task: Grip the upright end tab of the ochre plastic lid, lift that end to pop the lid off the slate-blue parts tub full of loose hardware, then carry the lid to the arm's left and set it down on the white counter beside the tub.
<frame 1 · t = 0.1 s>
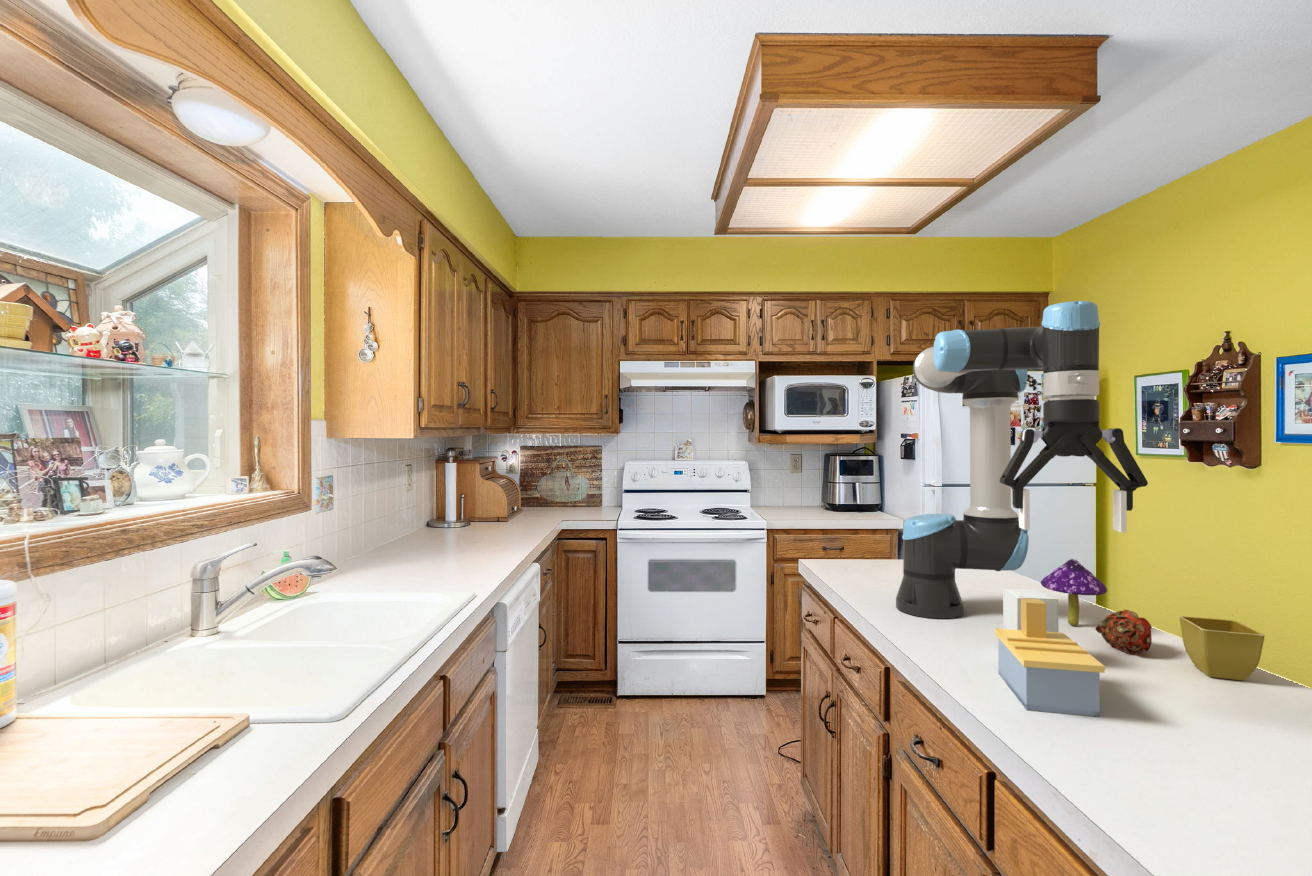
hand: (1071, 530, 99), 28 cm above the counter, fingers open, 13 cm apart
decorative mushroom: (1073, 626, 137), on the counter
lid: (1044, 651, 102), point 7 cm above the counter, touching tub
flower pot: (1220, 675, 109), on the counter
tub: (1044, 693, 102), on the counter
supplement box: (1030, 659, 118), on the counter
dragon fruit: (1124, 649, 122), on the counter
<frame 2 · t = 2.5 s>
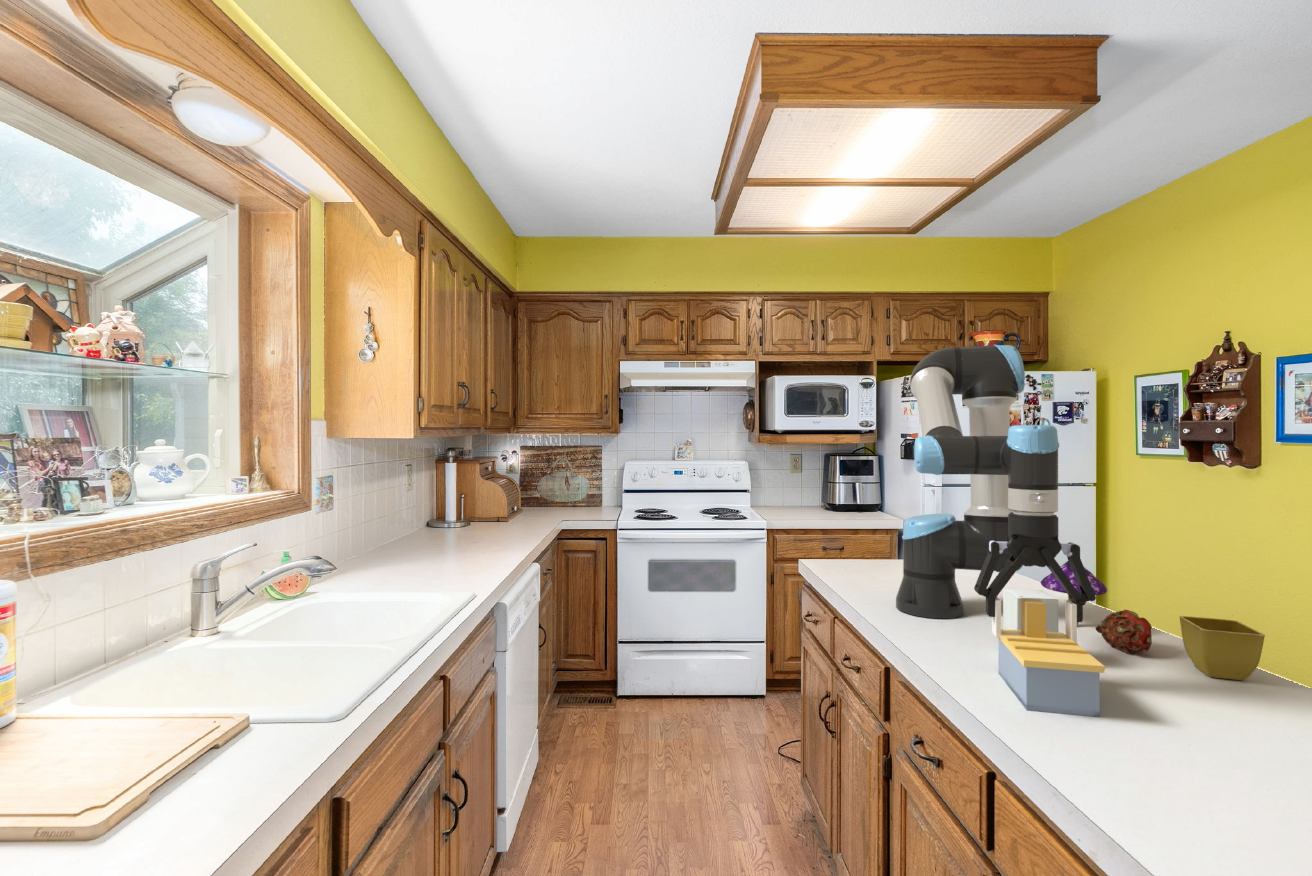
hand: (1033, 637, 107), 8 cm above the counter, fingers closed on lid, 11 cm apart
lid: (1044, 651, 102), point 7 cm above the counter, touching gripper, tub
everything else where it was.
when the fingers open (3 cm above the counter, at t = 10.2 s): lid drops 2 cm, on the counter.
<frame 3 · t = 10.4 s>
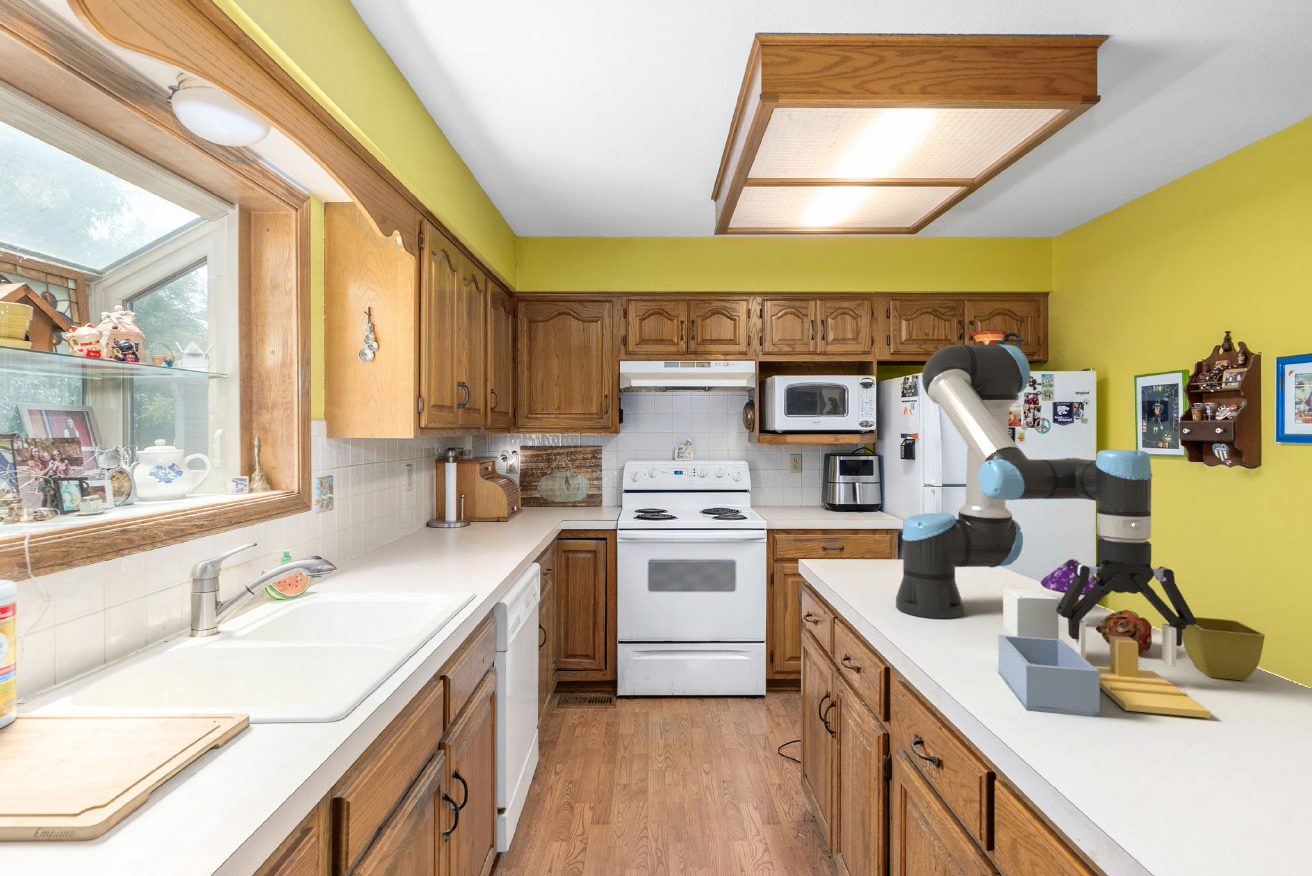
hand: (1123, 660, 106), 4 cm above the counter, fingers open, 13 cm apart
lid: (1140, 692, 101), on the counter
everything else where it was.
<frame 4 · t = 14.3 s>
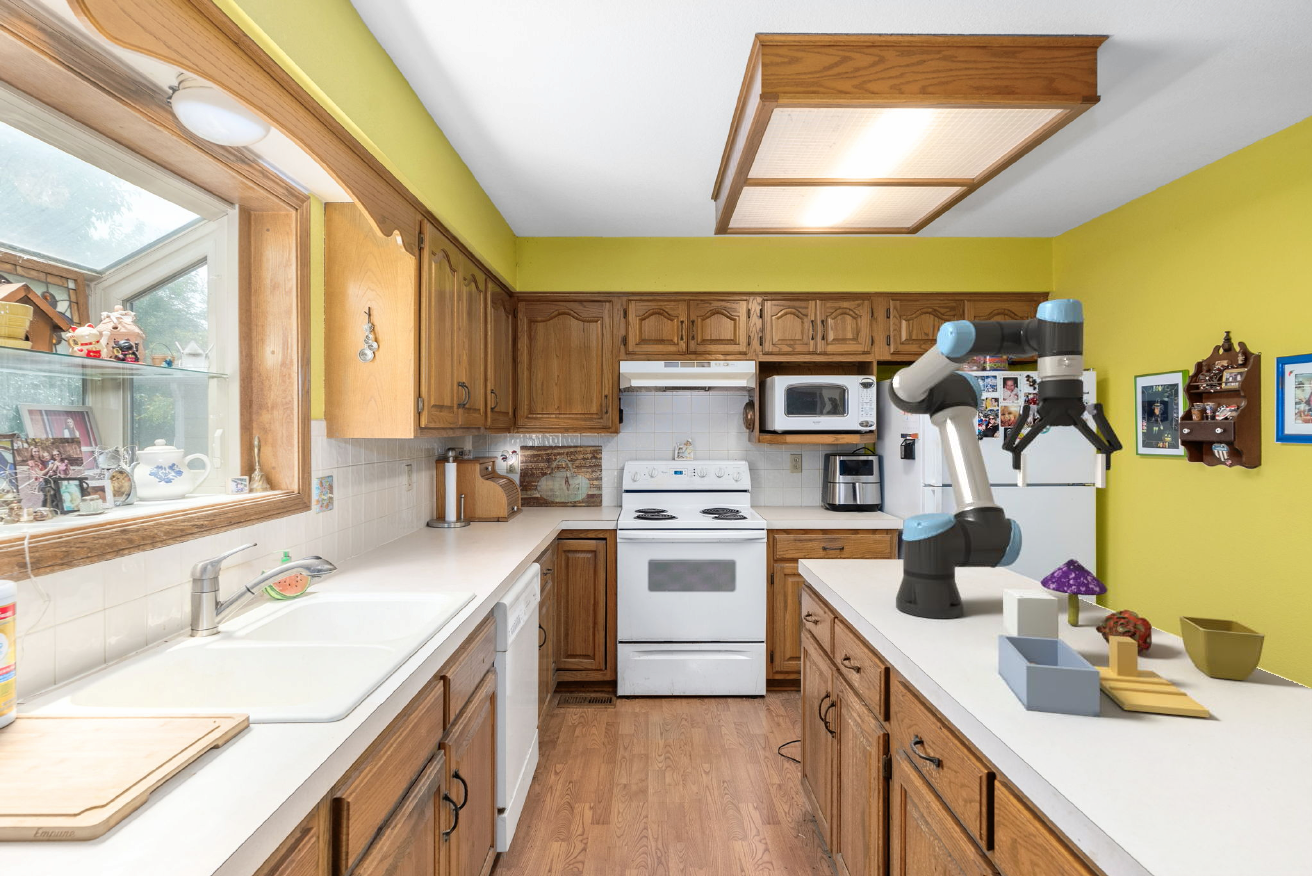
hand: (1060, 487, 120), 33 cm above the counter, fingers open, 13 cm apart
nothing on the counter moved.
at the end: lid touching counter; lid inside the target area (0.3 cm from its centre), on the counter; the gripper is holding nothing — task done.
